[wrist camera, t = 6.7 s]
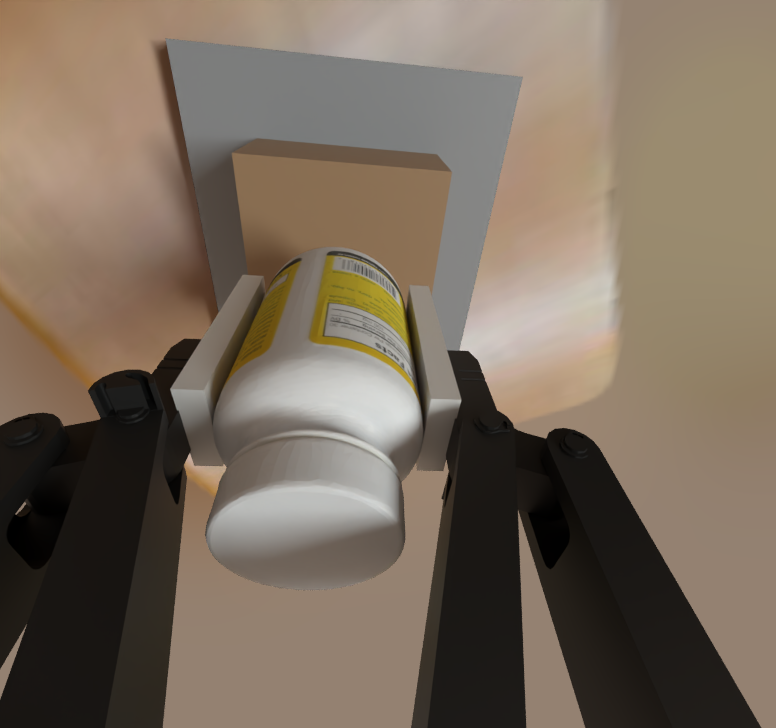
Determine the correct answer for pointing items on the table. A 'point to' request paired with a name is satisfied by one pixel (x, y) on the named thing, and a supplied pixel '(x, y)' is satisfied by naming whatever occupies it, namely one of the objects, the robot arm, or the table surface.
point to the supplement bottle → (318, 428)
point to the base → (345, 117)
